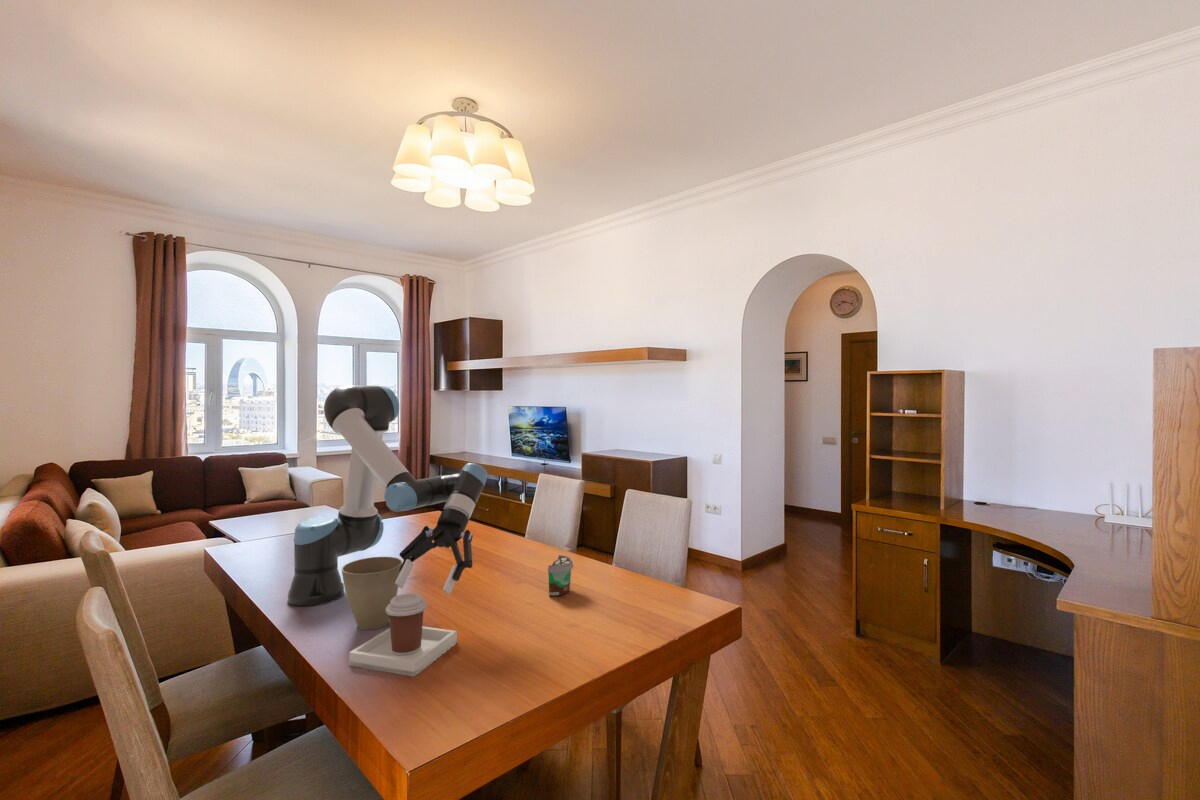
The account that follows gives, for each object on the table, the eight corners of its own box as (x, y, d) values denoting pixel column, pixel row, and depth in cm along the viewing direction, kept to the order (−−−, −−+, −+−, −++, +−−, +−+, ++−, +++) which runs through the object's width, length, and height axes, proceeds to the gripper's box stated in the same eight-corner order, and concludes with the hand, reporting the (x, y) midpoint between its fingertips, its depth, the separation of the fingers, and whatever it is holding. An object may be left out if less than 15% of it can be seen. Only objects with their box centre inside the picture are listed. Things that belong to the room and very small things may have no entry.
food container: (567, 600, 164) (567, 567, 164) (547, 599, 165) (547, 565, 165) (577, 587, 176) (577, 555, 176) (559, 585, 178) (559, 554, 178)
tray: (349, 665, 124) (349, 652, 124) (397, 634, 141) (397, 622, 141) (414, 676, 120) (414, 662, 120) (456, 643, 136) (456, 631, 136)
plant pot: (358, 613, 155) (358, 556, 155) (410, 613, 154) (410, 556, 154) (330, 636, 140) (330, 573, 140) (388, 637, 139) (388, 573, 139)
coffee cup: (426, 655, 127) (425, 603, 127) (383, 660, 125) (383, 607, 125) (427, 638, 136) (427, 590, 136) (387, 643, 133) (387, 593, 133)
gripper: (502, 526, 148) (472, 602, 134) (422, 518, 156) (386, 590, 142) (492, 510, 143) (460, 587, 129) (410, 503, 151) (372, 575, 137)
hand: (422, 589), depth 135 cm, fingers open, 13 cm apart
